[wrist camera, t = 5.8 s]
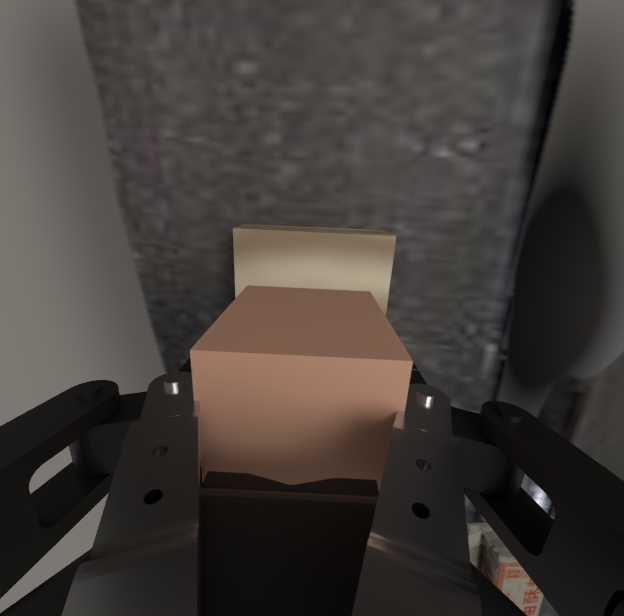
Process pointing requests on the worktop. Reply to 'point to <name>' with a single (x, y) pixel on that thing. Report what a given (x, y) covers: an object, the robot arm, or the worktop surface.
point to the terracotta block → (299, 385)
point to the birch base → (314, 258)
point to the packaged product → (502, 568)
